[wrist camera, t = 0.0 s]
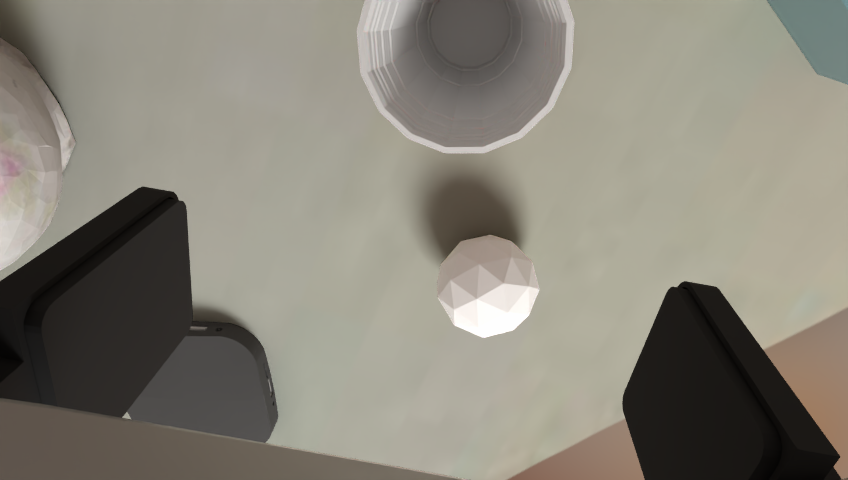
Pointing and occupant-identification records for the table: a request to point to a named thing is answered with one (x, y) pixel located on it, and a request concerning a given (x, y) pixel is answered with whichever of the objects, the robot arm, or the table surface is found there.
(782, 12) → the matte blue-grey box
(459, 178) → the table surface
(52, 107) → the ceramic pitcher
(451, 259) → the geometric ball
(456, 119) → the plastic cup
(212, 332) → the media streaming box
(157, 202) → the robot arm
